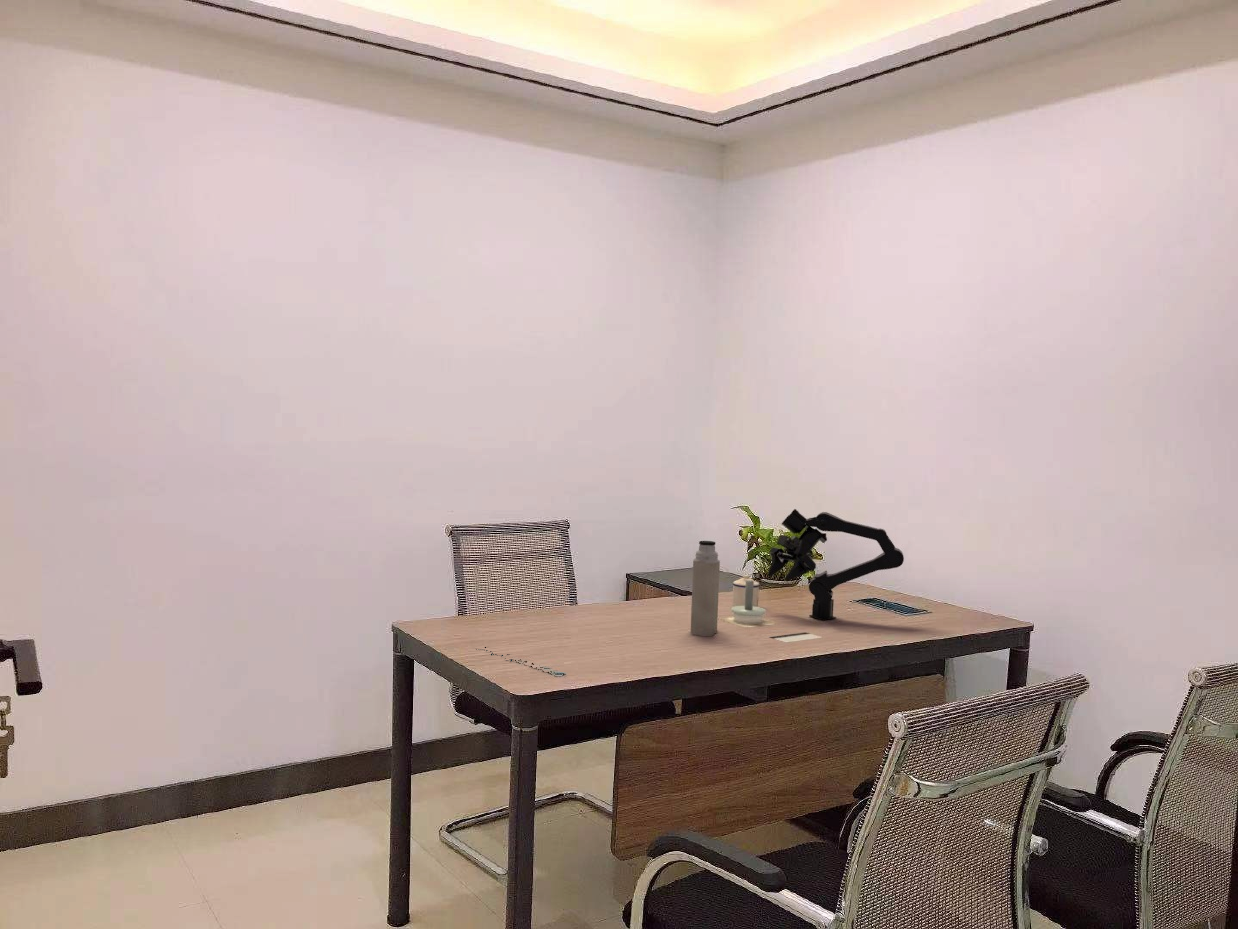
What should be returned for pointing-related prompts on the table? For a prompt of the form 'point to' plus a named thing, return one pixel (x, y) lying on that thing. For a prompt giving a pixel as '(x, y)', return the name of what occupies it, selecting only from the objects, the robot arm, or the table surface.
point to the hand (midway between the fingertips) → (776, 578)
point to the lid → (748, 603)
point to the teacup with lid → (740, 591)
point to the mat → (795, 637)
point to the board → (731, 620)
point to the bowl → (748, 619)
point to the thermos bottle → (705, 590)
